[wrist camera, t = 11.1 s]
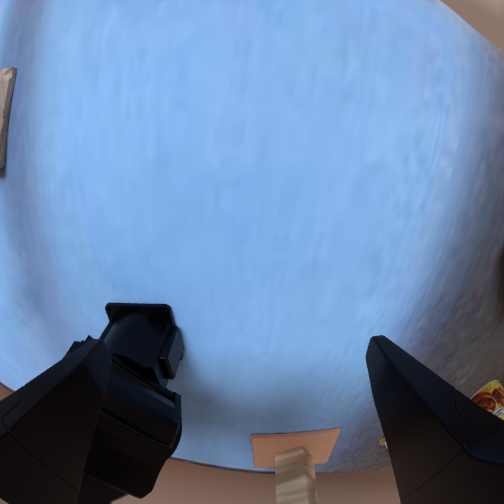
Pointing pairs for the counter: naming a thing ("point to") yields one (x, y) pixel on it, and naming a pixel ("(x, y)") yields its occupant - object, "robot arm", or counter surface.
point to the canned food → (491, 398)
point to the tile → (293, 445)
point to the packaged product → (5, 107)
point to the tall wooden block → (295, 477)
